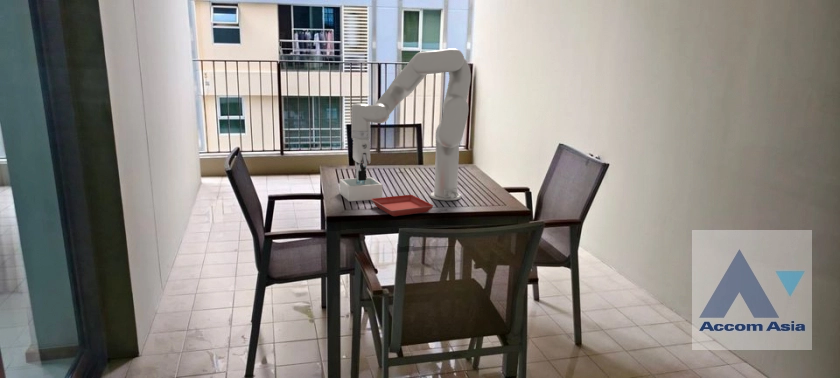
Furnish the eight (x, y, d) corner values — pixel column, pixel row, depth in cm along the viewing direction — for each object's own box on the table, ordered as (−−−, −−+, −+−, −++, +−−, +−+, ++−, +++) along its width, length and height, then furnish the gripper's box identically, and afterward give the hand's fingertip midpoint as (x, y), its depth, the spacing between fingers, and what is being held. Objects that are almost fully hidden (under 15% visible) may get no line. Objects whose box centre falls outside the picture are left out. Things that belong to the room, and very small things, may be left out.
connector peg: (366, 184, 234) (366, 165, 232) (357, 184, 232) (357, 165, 230) (363, 182, 237) (363, 163, 235) (355, 182, 236) (355, 163, 234)
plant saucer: (434, 213, 215) (434, 205, 214) (391, 219, 206) (391, 210, 205) (411, 202, 230) (411, 194, 229) (370, 207, 221) (370, 198, 220)
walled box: (382, 198, 232) (382, 184, 231) (348, 201, 227) (348, 186, 226) (371, 191, 245) (371, 177, 243) (339, 193, 239) (339, 179, 238)
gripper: (376, 137, 224) (375, 183, 228) (363, 131, 239) (363, 174, 243) (357, 137, 221) (357, 184, 225) (346, 132, 236) (346, 175, 240)
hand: (360, 178), depth 234 cm, fingers closed on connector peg, 3 cm apart
